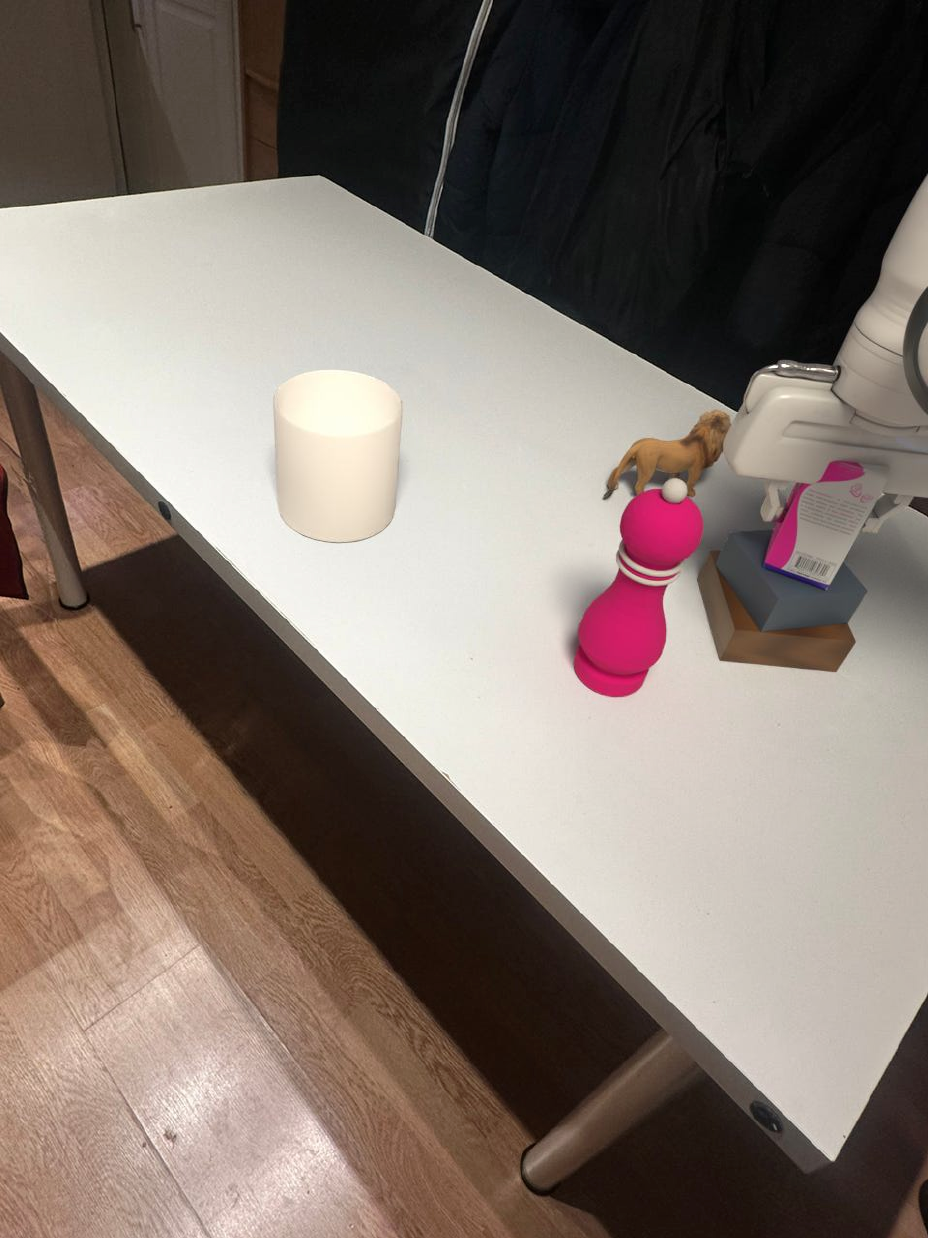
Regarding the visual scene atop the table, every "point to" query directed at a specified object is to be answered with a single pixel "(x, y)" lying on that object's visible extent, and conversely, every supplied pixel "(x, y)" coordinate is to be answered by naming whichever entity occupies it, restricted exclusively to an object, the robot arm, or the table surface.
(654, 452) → the lion figurine
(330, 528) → the cup
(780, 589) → the top block
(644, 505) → the pepper mill
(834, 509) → the supplement box
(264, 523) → the table surface
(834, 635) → the base block
